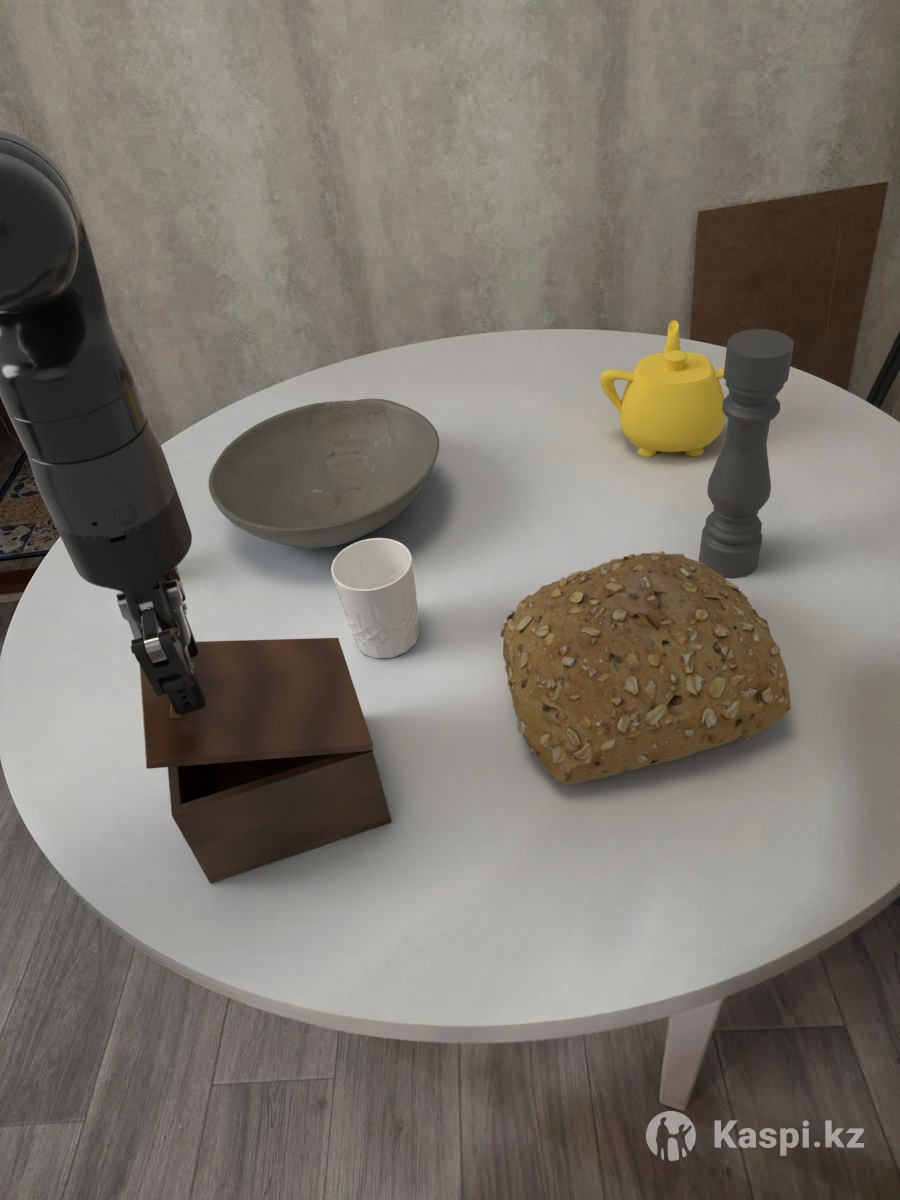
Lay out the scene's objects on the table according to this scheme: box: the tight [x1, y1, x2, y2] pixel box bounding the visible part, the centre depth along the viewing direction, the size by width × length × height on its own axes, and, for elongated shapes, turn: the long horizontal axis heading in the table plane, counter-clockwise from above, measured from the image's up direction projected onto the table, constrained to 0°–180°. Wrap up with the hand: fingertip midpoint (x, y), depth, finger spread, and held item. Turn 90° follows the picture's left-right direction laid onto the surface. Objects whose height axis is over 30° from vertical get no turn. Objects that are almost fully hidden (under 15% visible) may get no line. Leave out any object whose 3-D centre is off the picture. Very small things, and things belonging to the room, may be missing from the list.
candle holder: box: [698, 328, 795, 579], centre depth 85 cm, size 6×6×25 cm
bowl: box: [208, 398, 440, 549], centre depth 105 cm, size 27×28×8 cm
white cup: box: [330, 537, 420, 660], centre depth 87 cm, size 8×8×10 cm
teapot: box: [599, 319, 729, 458], centre depth 108 cm, size 14×14×12 cm
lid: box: [139, 627, 374, 770], centre depth 67 cm, size 16×13×6 cm
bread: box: [500, 550, 792, 784], centre depth 77 cm, size 24×21×12 cm
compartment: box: [167, 748, 393, 884], centre depth 73 cm, size 16×13×10 cm
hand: (187, 681), depth 65 cm, fingers closed on lid, 5 cm apart
